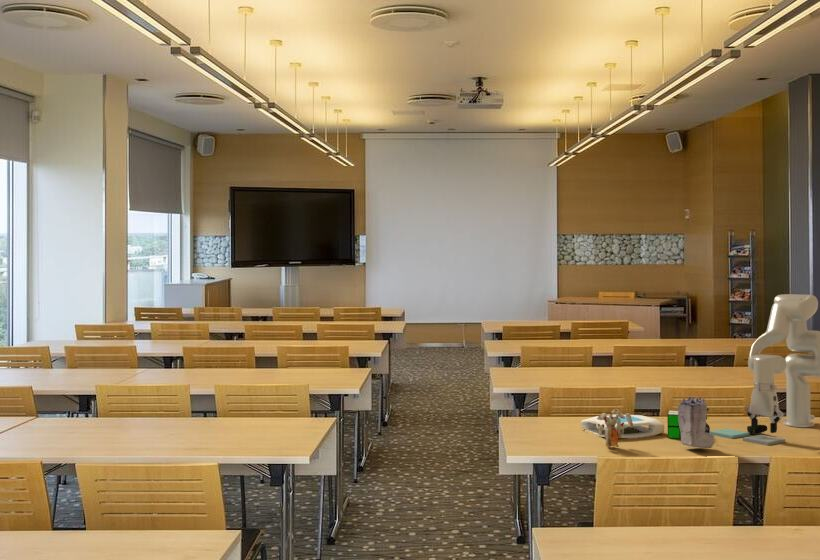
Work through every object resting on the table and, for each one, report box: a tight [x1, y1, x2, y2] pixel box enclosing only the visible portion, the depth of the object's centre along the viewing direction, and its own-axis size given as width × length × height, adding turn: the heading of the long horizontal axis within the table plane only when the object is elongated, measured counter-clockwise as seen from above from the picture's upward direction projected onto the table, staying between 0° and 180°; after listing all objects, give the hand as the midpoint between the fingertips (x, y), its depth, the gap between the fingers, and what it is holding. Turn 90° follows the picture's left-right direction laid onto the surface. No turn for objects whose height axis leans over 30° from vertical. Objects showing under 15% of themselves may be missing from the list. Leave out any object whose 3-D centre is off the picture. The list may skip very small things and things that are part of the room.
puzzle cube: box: [667, 410, 681, 440], centre depth 335 cm, size 10×10×10 cm
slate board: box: [742, 434, 786, 446], centre depth 325 cm, size 12×11×1 cm
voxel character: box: [597, 408, 633, 448], centre depth 314 cm, size 11×10×15 cm
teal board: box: [709, 428, 751, 440], centre depth 339 cm, size 12×11×1 cm
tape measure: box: [746, 424, 768, 436], centre depth 338 cm, size 7×7×4 cm
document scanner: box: [580, 414, 665, 439], centre depth 344 cm, size 21×28×6 cm
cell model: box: [677, 396, 715, 449], centre depth 313 cm, size 13×11×20 cm
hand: (763, 430), depth 325 cm, fingers open, 7 cm apart
